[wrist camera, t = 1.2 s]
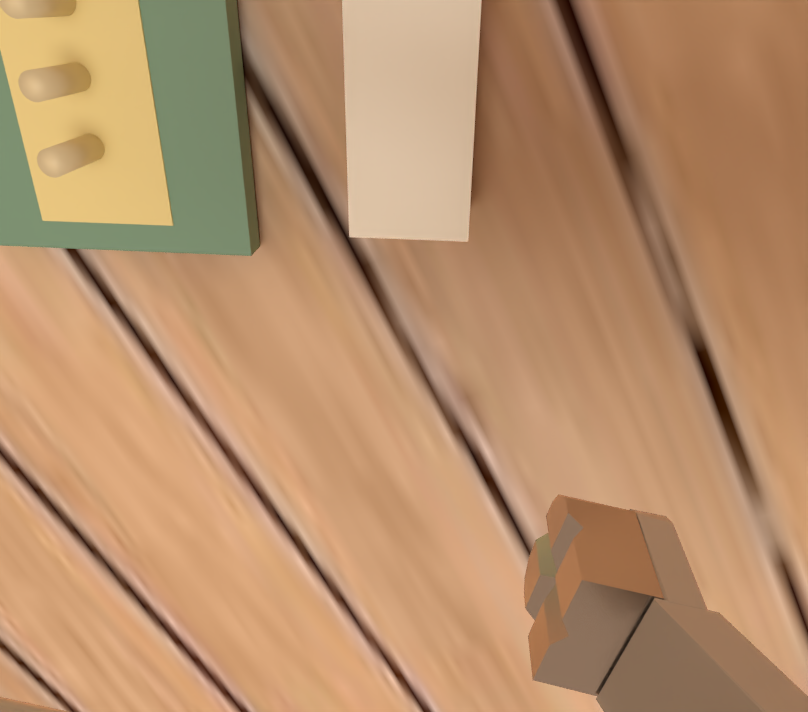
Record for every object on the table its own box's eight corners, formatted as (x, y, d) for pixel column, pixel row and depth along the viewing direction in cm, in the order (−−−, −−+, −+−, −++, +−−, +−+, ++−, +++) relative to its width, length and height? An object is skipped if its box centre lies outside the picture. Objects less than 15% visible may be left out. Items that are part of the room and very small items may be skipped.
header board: (223, -141, 27) (173, -167, 23) (260, 245, 34) (228, 282, 30) (-106, -138, 28) (-215, -163, 24) (-1, 235, 36) (-69, 269, 31)
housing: (484, -72, 27) (486, -85, 23) (469, 208, 33) (468, 241, 28) (361, -72, 28) (339, -85, 23) (366, 204, 33) (349, 237, 29)
